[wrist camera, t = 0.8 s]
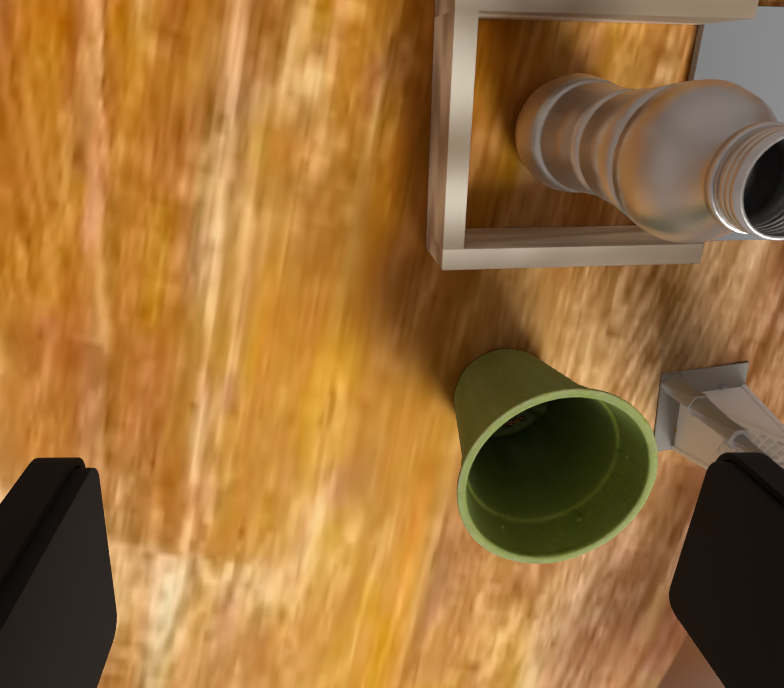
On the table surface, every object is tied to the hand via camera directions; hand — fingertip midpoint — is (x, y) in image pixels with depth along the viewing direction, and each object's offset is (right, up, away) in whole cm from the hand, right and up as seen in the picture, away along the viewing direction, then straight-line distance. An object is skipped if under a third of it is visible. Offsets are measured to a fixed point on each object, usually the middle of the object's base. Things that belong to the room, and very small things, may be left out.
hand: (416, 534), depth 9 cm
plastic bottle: (+10, +16, +29) cm, 35 cm away
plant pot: (+8, 0, +36) cm, 37 cm away
